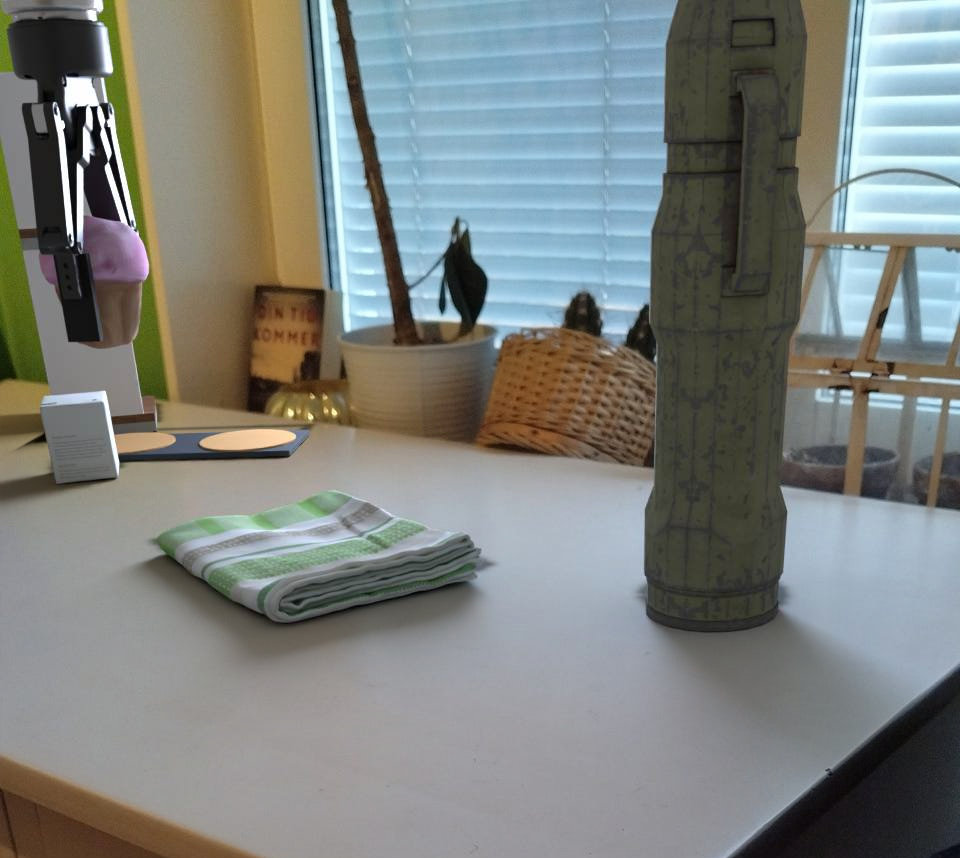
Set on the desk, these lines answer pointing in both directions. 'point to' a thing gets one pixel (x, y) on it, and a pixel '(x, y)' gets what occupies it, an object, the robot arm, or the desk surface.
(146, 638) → the desk surface
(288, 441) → the placemat
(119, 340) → the cupcake
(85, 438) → the product carton
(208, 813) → the desk surface
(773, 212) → the thermos
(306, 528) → the dish towel
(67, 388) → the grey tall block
